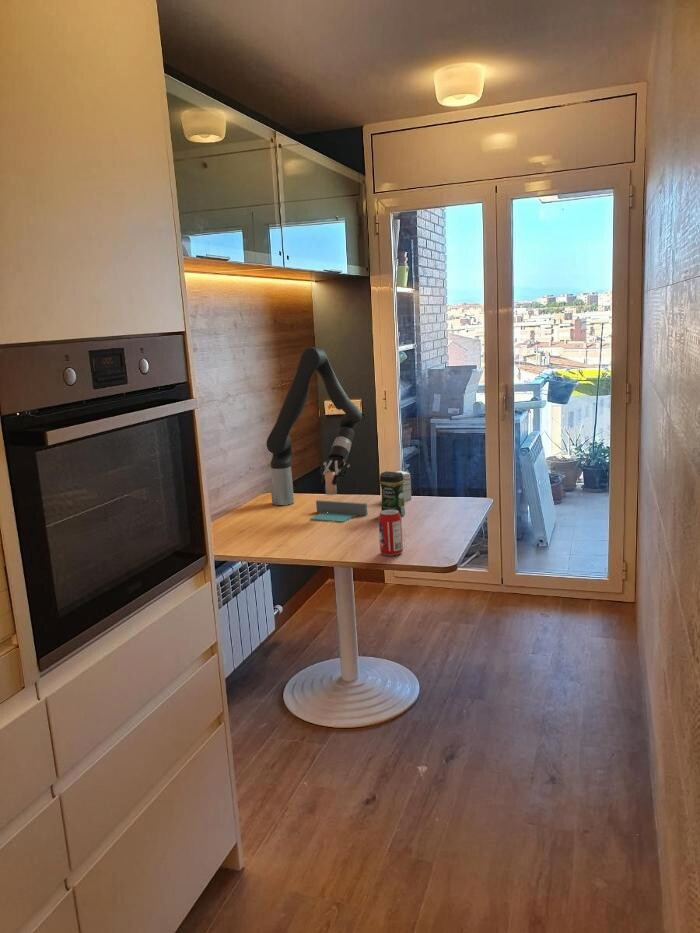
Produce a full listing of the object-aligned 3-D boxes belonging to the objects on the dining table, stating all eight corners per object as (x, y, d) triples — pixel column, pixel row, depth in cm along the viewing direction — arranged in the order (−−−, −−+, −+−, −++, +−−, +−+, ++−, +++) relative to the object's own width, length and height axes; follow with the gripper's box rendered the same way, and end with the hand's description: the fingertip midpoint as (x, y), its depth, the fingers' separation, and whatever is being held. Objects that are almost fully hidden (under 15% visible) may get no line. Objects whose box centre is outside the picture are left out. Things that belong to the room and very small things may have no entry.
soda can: (399, 557, 248) (396, 514, 246) (377, 556, 251) (374, 514, 249) (405, 550, 256) (403, 509, 253) (384, 549, 258) (382, 508, 256)
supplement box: (389, 500, 332) (387, 472, 330) (403, 497, 335) (401, 470, 333) (398, 503, 326) (396, 475, 323) (412, 500, 329) (410, 472, 327)
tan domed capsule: (324, 494, 303) (322, 473, 302) (328, 492, 308) (326, 471, 306) (334, 494, 302) (333, 473, 300) (338, 492, 306) (336, 471, 304)
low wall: (316, 512, 318) (316, 501, 317) (318, 511, 320) (317, 500, 319) (365, 515, 307) (365, 504, 306) (367, 514, 308) (366, 503, 307)
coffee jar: (378, 516, 304) (375, 473, 300) (388, 512, 310) (386, 469, 307) (398, 519, 298) (396, 474, 295) (408, 514, 304) (406, 470, 301)
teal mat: (309, 520, 306) (309, 518, 306) (323, 513, 315) (323, 512, 315) (343, 522, 298) (343, 521, 298) (356, 515, 308) (356, 514, 307)
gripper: (322, 444, 311) (309, 478, 303) (351, 444, 304) (339, 479, 296) (329, 454, 317) (317, 488, 308) (358, 455, 310) (347, 489, 302)
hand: (328, 483), depth 302 cm, fingers closed on tan domed capsule, 4 cm apart
